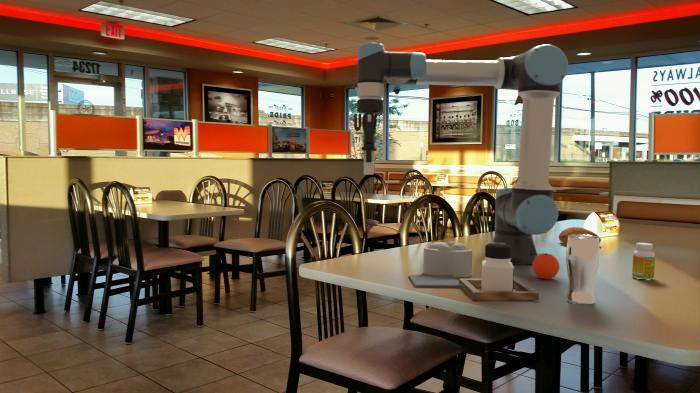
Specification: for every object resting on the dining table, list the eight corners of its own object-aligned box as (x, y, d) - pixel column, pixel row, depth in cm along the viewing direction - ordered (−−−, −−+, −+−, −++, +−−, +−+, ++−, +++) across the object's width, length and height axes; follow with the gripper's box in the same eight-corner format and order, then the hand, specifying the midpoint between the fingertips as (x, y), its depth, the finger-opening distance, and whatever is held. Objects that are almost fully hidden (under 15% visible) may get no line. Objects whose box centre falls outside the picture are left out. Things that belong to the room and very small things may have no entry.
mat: (452, 277, 154) (452, 275, 154) (463, 287, 142) (463, 285, 142) (408, 277, 154) (408, 275, 154) (415, 287, 142) (415, 285, 142)
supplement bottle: (645, 281, 154) (647, 245, 153) (627, 277, 158) (629, 242, 158) (658, 279, 156) (660, 244, 155) (640, 275, 161) (642, 241, 160)
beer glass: (558, 297, 134) (561, 234, 133) (587, 297, 134) (590, 234, 133) (572, 305, 127) (575, 238, 126) (603, 305, 127) (606, 238, 126)
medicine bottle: (513, 297, 134) (514, 246, 133) (481, 295, 135) (483, 245, 134) (510, 290, 141) (512, 242, 140) (481, 288, 142) (482, 240, 141)
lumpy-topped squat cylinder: (431, 268, 168) (432, 239, 167) (475, 272, 162) (476, 242, 162) (420, 274, 158) (421, 243, 158) (466, 279, 153) (467, 247, 152)
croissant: (563, 253, 213) (563, 232, 211) (555, 241, 228) (556, 222, 226) (604, 253, 210) (605, 233, 209) (593, 242, 225) (594, 222, 224)
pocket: (517, 285, 145) (517, 278, 145) (538, 300, 131) (538, 292, 130) (458, 285, 145) (459, 278, 145) (473, 300, 130) (473, 292, 130)
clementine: (523, 276, 158) (524, 251, 157) (543, 274, 160) (544, 249, 160) (544, 282, 150) (545, 255, 150) (564, 280, 153) (565, 254, 153)
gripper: (358, 103, 175) (358, 172, 176) (354, 94, 150) (353, 174, 152) (383, 103, 175) (382, 172, 176) (383, 94, 150) (382, 175, 151)
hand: (369, 173), depth 164 cm, fingers open, 13 cm apart
